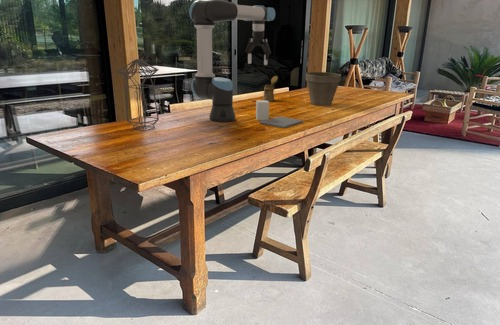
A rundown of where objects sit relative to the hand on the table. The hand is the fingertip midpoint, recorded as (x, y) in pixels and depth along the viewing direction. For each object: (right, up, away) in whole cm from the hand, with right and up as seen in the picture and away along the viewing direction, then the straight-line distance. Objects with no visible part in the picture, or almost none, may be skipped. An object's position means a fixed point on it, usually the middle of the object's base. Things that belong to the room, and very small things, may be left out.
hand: (257, 64), depth 262 cm
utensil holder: (+10, -19, +32) cm, 39 cm away
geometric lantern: (-61, -48, -60) cm, 98 cm away
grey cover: (+2, -40, -32) cm, 52 cm away
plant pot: (+46, -24, +21) cm, 56 cm away
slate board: (+13, -43, -40) cm, 61 cm away
